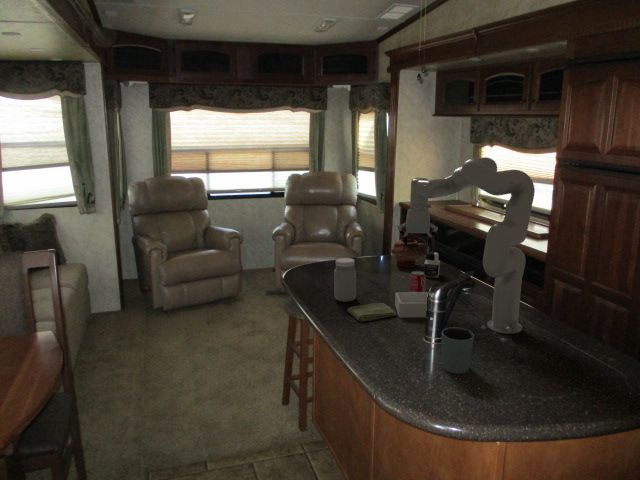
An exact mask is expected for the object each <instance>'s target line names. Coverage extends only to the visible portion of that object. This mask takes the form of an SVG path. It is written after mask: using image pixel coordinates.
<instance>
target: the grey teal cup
mask: <svg viewBox="0 0 640 480" xmlns="http://www.w3.org/2000/svg"><path fill="white" fill-rule="evenodd" d="M474 339H475V334H474V333H473V331H472V330H470V329H468V328H463V327H456V326H453V327H445V328H444V329H442V330H441V367H442V369H443V370H444V371H446V372H448V373H450V374H458V375H459V374H460V375H461V374H465V373H467V372H469V369H470V364H471V356H472V350H473V346H474V345H473V344H474Z"/></svg>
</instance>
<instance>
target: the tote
mask: <svg viewBox="0 0 640 480" xmlns="http://www.w3.org/2000/svg"><path fill="white" fill-rule="evenodd" d="M428 294H429V293H428V291H427V292H426V291H425V292H409V291H408V292H406V291H405V292H403V291H402V292H395V296H394V299H395V300H394V301H395V302H394V305H395V309H396V314H397V315H398V318H427V317H426V311H427V297H428Z"/></svg>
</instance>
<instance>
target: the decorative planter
mask: <svg viewBox="0 0 640 480" xmlns="http://www.w3.org/2000/svg"><path fill="white" fill-rule="evenodd" d="M403 240H404V238H402V239H398V240H396V241H395V242H394V243H393V246H392V248H391V249H390V252H391V254H392V255H394V256H395V259H396V265H397V266H398V267H400V268H406V269H407V268H408V269H409V268H414V267H416V261H417V260H418V259H419V258H421V257H423V255H425V253H427V249H428V248H427V247H428V246H427V244H425V243H419V242H418V241H417V240H415V239H410V238H409V239H408V238H407V246H405V244H403ZM420 248H423V252H422V253H420Z"/></svg>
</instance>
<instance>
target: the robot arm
mask: <svg viewBox="0 0 640 480" xmlns="http://www.w3.org/2000/svg"><path fill="white" fill-rule="evenodd" d="M472 186H474V187H476V188H478V189H480V190H482V191H483V192H485V193H486V194H489V195H493V196H504V195H509V194H510V198H509V200H508V202H507V204H506V207H505V213H504V217H503V220H502V221H499V222H497V223H494V224H492V225H491V226H490V227H489V229H488V231H487V234H486V237H485V244H484V248H483V249H484V250H483V257H482V266H483V270H484V272H485V273H486V274H487V275H488V276H490V277H491V278H494V284H493V285H494V286H493V296H492V297H493V298H492V312H491V313H492V314H491V319H490V320H488V321H487V328H488V329H489V330H491V331H493V332H496V333H500V334H506V335H507V334H510V335H511V334H512V335H513V334H519V333H520V332H522V331H523V326H522V324H521V323H519V318H520V317H519V315H520V306H521V305H520V304H521V302H520V301H521V291H522V280H523V276H524V271H525V267H526V256H525V253H524V252H523V250H522V249H520V248H518V247H516V246H518V245H521V244H522V243H524V242H525V241H526V239H527V234H528V229H529V225H530V220H531V219H530V218H531V212H532V206H533V203H534V198H535V185H534V182H533V180H532V178H531V176H530V175H528V173H526V172H525V171H523V170H519V169H506V170H501V171H498V164H497V162H496V161H495V160H494V159H493V158H491V157H476V158H475V157H474V158H470V159H468V160H466V161H465V162H464V163H463V164H462V165H461V166H459V167H456V168H455V169H454V170H453V173H452V174H451V175H449V176H447V177H444V178H443V177H442V178H436V179H435V178H434V179H428V178H425V177H415V178H411V182H410V199H409V200H410V201H409V208H408V209H407V213H406V219H405V222H403V223H402V224H400V225H398V226H397V229H398V231H399V233H400V234H401V236H402V237H403V239H404V240H403V244H405V246H407V239H408V235H409V234H426V235H427V237H426V247H430V245H432V238H433V236H434V235H436V233H437V232H438V230H439V227H438V226H436V225H435V224H433V223H431V218H430V217H431V215H430V210H429V209H430V208H432V204H430V203H429V199H436V198H442V197H448V196H450V195H453V194H456V193H459V192H460V191H461V192H462V191H463V190H465V189H467V188H469V187H472ZM403 228H405V231H403ZM431 228H432V229H433V230H432V231H431ZM430 231H431V232H430Z"/></svg>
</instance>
